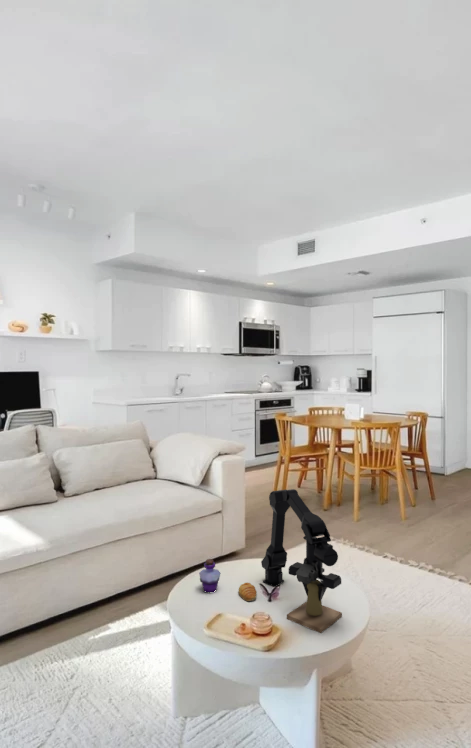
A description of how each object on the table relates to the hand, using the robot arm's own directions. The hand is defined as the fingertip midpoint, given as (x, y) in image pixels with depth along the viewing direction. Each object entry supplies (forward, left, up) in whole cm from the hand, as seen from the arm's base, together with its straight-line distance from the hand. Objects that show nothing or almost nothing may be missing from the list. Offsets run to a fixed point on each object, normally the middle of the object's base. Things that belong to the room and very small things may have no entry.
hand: (314, 598), depth 177 cm
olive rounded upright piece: (0, 0, -5) cm, 5 cm away
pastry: (-28, -3, -7) cm, 29 cm away
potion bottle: (-43, -9, -7) cm, 44 cm away
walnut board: (0, 0, -7) cm, 7 cm away
